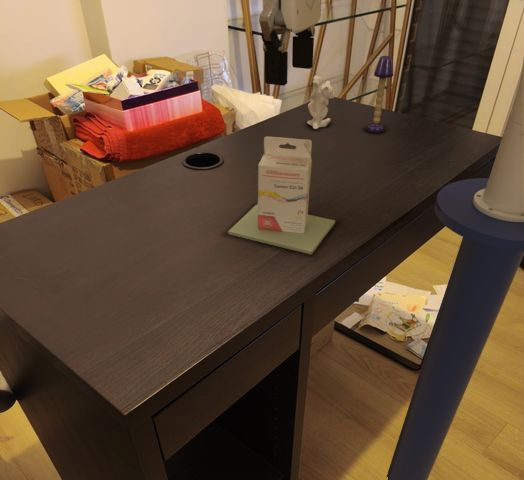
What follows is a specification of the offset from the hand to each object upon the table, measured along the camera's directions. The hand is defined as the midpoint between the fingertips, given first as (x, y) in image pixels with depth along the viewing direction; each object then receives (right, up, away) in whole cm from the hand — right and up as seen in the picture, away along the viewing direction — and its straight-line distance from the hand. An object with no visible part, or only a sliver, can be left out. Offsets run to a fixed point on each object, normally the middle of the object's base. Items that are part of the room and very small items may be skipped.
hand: (289, 75), depth 70 cm
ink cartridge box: (0, -18, +17) cm, 24 cm away
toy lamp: (+25, +17, +55) cm, 63 cm away
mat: (0, -18, +17) cm, 25 cm away
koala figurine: (+11, +20, +58) cm, 62 cm away
